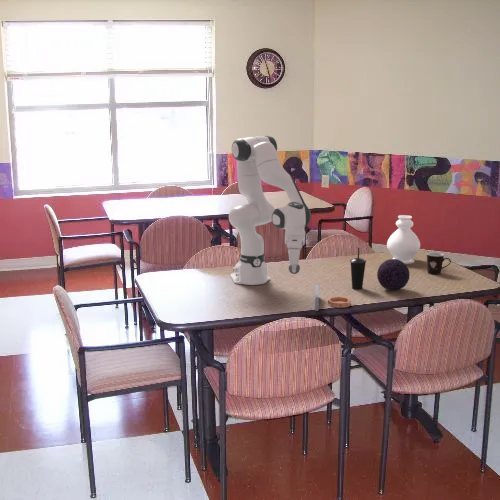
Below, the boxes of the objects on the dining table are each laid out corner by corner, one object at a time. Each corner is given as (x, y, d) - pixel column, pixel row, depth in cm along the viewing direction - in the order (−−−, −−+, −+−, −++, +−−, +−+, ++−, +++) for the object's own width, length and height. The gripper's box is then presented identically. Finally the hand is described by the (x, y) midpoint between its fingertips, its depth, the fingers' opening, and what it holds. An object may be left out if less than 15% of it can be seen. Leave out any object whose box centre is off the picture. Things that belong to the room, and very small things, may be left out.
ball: (286, 272, 313) (286, 262, 312) (296, 271, 315) (297, 260, 314) (291, 275, 309) (291, 264, 307) (301, 274, 310) (302, 263, 309)
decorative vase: (382, 257, 396) (384, 213, 390) (414, 256, 397) (416, 213, 391) (390, 265, 378) (393, 219, 373) (423, 264, 379) (426, 219, 374)
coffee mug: (422, 272, 364) (423, 253, 361) (432, 270, 369) (434, 251, 366) (440, 277, 355) (441, 258, 352) (451, 274, 360) (452, 255, 357)
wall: (315, 296, 323) (315, 284, 322) (318, 296, 323) (318, 284, 322) (314, 310, 304) (315, 297, 303) (318, 310, 304) (318, 297, 303)
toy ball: (371, 286, 339) (372, 256, 335) (399, 284, 343) (401, 254, 339) (385, 295, 325) (386, 264, 321) (414, 293, 329) (416, 262, 325)
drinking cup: (357, 291, 332) (358, 250, 327) (345, 287, 338) (347, 247, 333) (368, 288, 336) (370, 247, 331) (357, 285, 342) (358, 245, 337)
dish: (324, 302, 315) (324, 298, 315) (343, 299, 319) (343, 295, 319) (334, 308, 306) (334, 304, 306) (354, 306, 310) (354, 301, 310)
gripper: (288, 234, 318) (288, 263, 322) (286, 245, 298) (286, 276, 302) (302, 234, 318) (301, 264, 321) (301, 245, 298) (300, 276, 301)
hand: (294, 270), depth 311 cm, fingers closed on ball, 5 cm apart
